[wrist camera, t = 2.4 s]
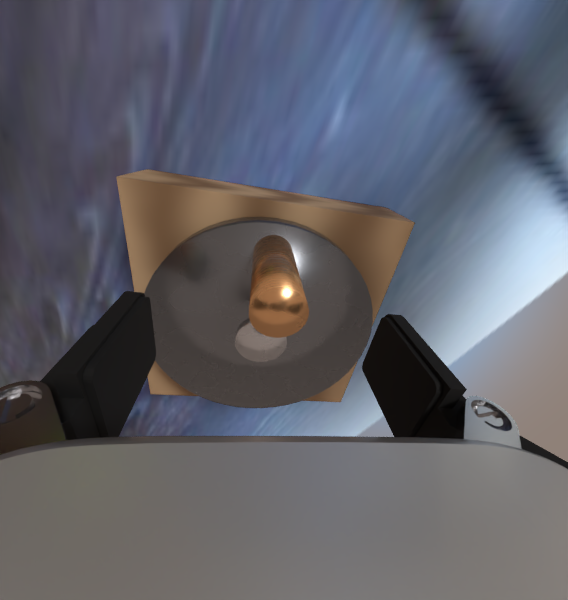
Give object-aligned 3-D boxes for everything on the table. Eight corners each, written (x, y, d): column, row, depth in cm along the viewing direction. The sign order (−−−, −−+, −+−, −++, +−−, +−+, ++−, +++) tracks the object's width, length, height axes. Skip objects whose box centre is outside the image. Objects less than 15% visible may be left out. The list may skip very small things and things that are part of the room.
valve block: (386, 207, 23) (414, 222, 19) (330, 368, 33) (340, 402, 29) (147, 169, 20) (116, 176, 16) (166, 358, 30) (150, 393, 26)
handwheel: (398, 235, 19) (486, 295, 11) (334, 398, 28) (361, 489, 20) (134, 197, 16) (27, 242, 9) (159, 390, 25) (117, 491, 18)
